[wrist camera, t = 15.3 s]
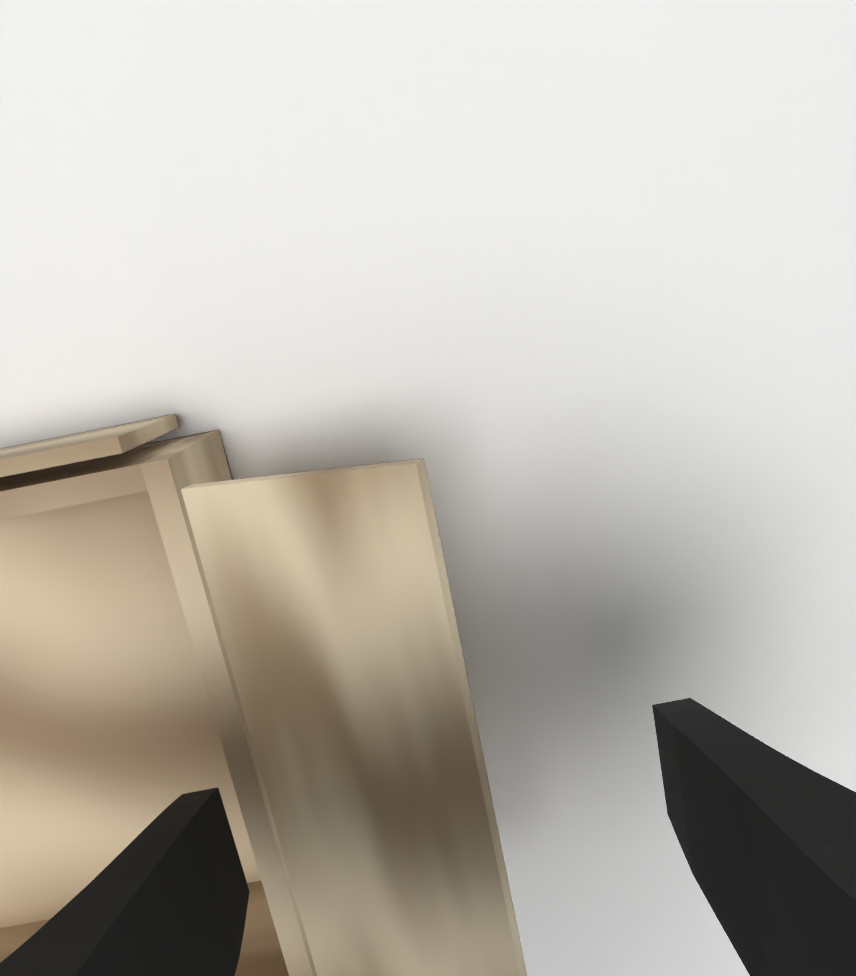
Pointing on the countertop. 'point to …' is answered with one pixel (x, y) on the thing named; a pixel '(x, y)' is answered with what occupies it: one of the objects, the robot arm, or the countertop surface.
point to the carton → (119, 680)
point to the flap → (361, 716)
